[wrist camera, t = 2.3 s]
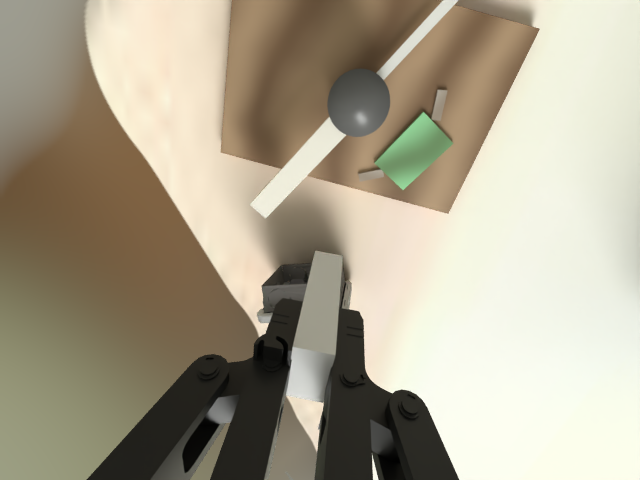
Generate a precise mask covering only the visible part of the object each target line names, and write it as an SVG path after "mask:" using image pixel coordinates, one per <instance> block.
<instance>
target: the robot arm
mask: <svg viewBox="0 0 640 480" xmlns="http://www.w3.org/2000/svg"><path fill="white" fill-rule="evenodd" d="M342 259H343V256H342V255H336V254H331V253H325V252H320V251H315V254H314V258H313V262H312V266H311V271H310V275H309V279H308V283H307V288H306V292H305V296H304V300H303V302H302V301H297V300H291V299H286V298H282V299H281V300H280V301H279V302H278V303H277V304H276V305H275V308H274V311H273V314H272V317H271V319H270V322H269V325H268V328H267V331H266V334H264V335H262V336H261V337H259V338H258V339H257V340H256V342H255V343H254V356H253V357H252V358H250V359H248V360H245V361H240V362H231V363H228V362H227V361H226V359H224V358H223V357H222V356H219V355H214V354H211V355H205V356H202V357H200V358H198V359H197V360H196V361H194V362H193V363H192V364H191V365H190V366H189V367H188V368H187V370H186V371H185V372H184V373H183V374H182V375H181V376H180V377H179V378H178V379H177V381H176V382H175V383H174V384H173V385H172V386H171V387H170V388H169V389H168V391H167V392H166V393H165V394H164V395H163V396H162V397H161V398H160V399H159V401H158V402H157V403H156V404H155V405H154V406H153V407H152V408H151V409H150V410H149V411H148V413H147V414H146V415H145V416H144V417H143V418H142V419H141V420H140V422H139V423H138V424H137V425H136V426H135V427H134V428H133V429H132V430H131V431H130V432H129V434H128V435H127V436H126V437H125V438H124V439H123V440H122V442H120V444H119V445H118V446H117V447H116V448H115V449H114V450H113V451H112V452H111V453H110V455H109V456H108V457H107V458H106V459H105V460H104V461H103V462H102V463H101V465H100V466H99V467H98V468H97V469H96V470H95V471H94V472H93V473H92V474H91V476H90V477H89V478H88V479H87V480H190V478H191V477H192V475H193V473H194V472H195V471H196V469H197V467H198V466H199V464H200V463H201V461H202V460H203V458H204V457H205V455H206V454H207V452H208V450H209V449H210V447H211V446H212V444H213V443H214V441H215V440H216V438H217V436H218V435H219V433H220V432H221V430H222V429H223V427H224V425H225V424H226V423H227V422H231V423H230V426H229V429H228V432H227V434H226V437H225V440H224V443H223V445H222V448H221V451H220V454H219V456H218V459H217V462H216V465H215V467H214V470H213V473H212V476H211V479H210V480H268V478H269V473H270V469H271V464H272V459H273V455H274V450H275V445H276V441H277V436H278V431H279V426H280V422H281V417H282V413H283V407H284V401H285V397H286V396H291V397H296V398H301V399H306V400H312V401H317V402H322V403H323V402H324V406H323V412H322V416H321V420H320V424H319V427H318V429H320V432H319V442H318V451H317V461H316V470H315V480H373V472H372V455H373V459H374V463H375V467H376V471H377V475H378V479H379V480H459V478H458V476H457V474H456V472H455V469H454V467H453V465H452V463H451V460H450V458H449V456H448V454H447V451H446V449H445V447H444V444H443V442H442V440H441V438H440V435H439V433H438V431H437V429H436V426H435V424H434V422H433V420H432V417H431V415H430V413H429V411H428V408H427V407H426V405H425V403H424V402H423V400H422V399H421V398H419V397H418V396H417V395H416V394H414V393H412V392H410V391H407V390H398V391H395V392H394V393H393V394H392V393H390V392H388V391H386V390H384V389H382V388H380V387H379V386H377V385H375V384H374V383H373V382H372V381H371V380H370V378H369V377H368V375H367V373H366V370H365V357H364V331H363V330H364V325H363V319H362V317H361V315H360V313H359V311H354V310H349V309H343V308H339V300H340V286H341V273H342Z"/></svg>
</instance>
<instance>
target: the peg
mask: <svg viewBox="0 0 640 480" xmlns="http://www.w3.org/2000/svg"><path fill="white" fill-rule="evenodd" d="M457 1H458V0H443V1H442V2H441V3H440V4H439V5H438V6H437V7H436V8H435V9H434V11H433V12H432V13H431V14H430V15H429V16H428V17H427V18H426V19H425V20H424V21H423V23H422V24H421V25H420V26H419V27H418V28H417V29H416V30H415V31H414V32H413V33H412V35H411V36H410V37H409V38H408V39H407V40H406V41H405V42H404V43H403V44H402V45H401V47H400V48H399V49H398V50H397V51H396V52H395V53H394V54H393V55H392V56H391V57H390V59H389V60H388V61H387V62H386V63H385V64H384V65H383V66H382V67H381V68H380V69H379V71H378V72H377V73H375V72H373V71H371V70H368V69H353V70H350V71H348V72H346V73H344V74H343V75H341V76H340V77H339V78H338V79H337V80H336V81H335V83H334V84H333V86H332V87H331V90H330V92H329V96H328V102H327V107H328V114H329V117H328V118H327V119H326V120H325V122H324V123H323V124H322V125H321V126H320V127H319V128H318V129H317V130H316V132H315V133H314V134H313V135H312V136H311V137H310V138H309V139H308V140H307V141H306V143H305V144H304V145H303V146H302V147H301V148H300V149H299V150H298V151H297V153H296V154H295V155H294V156H293V157H292V158H291V159H290V160H289V161H288V162H287V164H286V165H285V166H284V167H283V168H282V169H281V170H280V171H279V172H278V174H277V175H276V176H275V177H274V178H273V179H272V180H271V181H270V182H269V184H268V185H267V186H266V187H265V188H264V189H263V190H262V191H261V192H260V193H259V195H258V196H257V197H256V198H255V199H254V200H253V202H252V203H251V204H250V205H251V206H252V207H253V208H254V209H255V210H256V211H257V212H259V213H260V214H261V215H262V216H263V217H264V218H267V217H268V216H269V215H270V213H271V212H272V211H273V210H274V209H275V208H276V207H277V206H278V205H279V204H280V203H281V202H282V201H283V200H284V199H285V198H286V197H287V196H288V195H289V194H290V193H291V192H292V191H293V190H294V189H295V188H296V187H297V186H298V184H299V183H300V182H301V181H302V180H303V179H304V178H305V177H306V176H307V175H308V174H309V173H310V172H311V171H312V170H313V169H314V168H315V167H316V166H317V165H318V164H319V163H320V162H321V161H322V160H323V159H324V158H325V157H326V155H327V154H328V153H329V152H330V151H331V150H332V149H333V148H334V147H335V146H336V145H337V144H338V143H339V142H340V141H341V140H342V139H343V138H344V137H345V136H346V135H348V136H352V137H362V136H366V135H369V134H371V133H373V132H374V131H376V130H377V129H378V128H379V127H380V126H381V125H382V124H383V122H384V121H385V119H386V117H387V115H388V112H389V108H390V94H389V90H388V87H387V85H386V83H385V82H384V79H385V78H386V77H387V76H388V75H389V74H390V73H391V72H392V71H393V70H394V69H395V67H396V66H397V65H398V64H399V63H400V62H401V61H402V60H403V59H404V58H405V57H406V56H407V55H408V54H409V53H410V52H411V50H412V49H413V48H414V47H415V46H416V45H417V44H418V43H419V42H420V41H421V40H422V39H423V38H424V37H425V36H426V34H427V33H428V32H429V31H430V30H431V29H432V28H433V27H434V26H435V25H436V24H437V23H438V22H439V21H440V20H441V19H442V17H443V16H444V15H445V14H446V13H447V12H448V11H449V10H450V9H451V8H452V7H453V6H454V5H455V4H456V3H457Z"/></svg>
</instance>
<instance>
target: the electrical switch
mask: <svg viewBox="0 0 640 480" xmlns="http://www.w3.org/2000/svg"><path fill="white" fill-rule="evenodd" d="M282 266H283V269H282ZM311 266H312V263H308V264H293V265H281V266H280V267H279V268H278V269H277V270H276V271H275V272H274V274H273V275H272V276H271V277H270V278H269V279H268V280H267V281H266V282H265V283H264V284H263V285H262V292H263V305H264V308H263V309H260V310H259V312H258V313H257V316H258V320H259V322H260V323H269V322H270V319H271V317H272V314H273V311H274V308H275V305H276V304H277V303H278V302H279V301H280V300H281V299H282V298H286V299H291V300H297V301H302V302H303V300H304V296H305V292H306V288H307V283H308V280H307V279H309V275H310V271H311ZM302 268H303V269H302ZM305 272H306V274H307V276H306V279H305ZM288 281H289V282H288ZM351 291H352V283H351V282H350V281H345V277H344V271H343V262H342V273H341V286H340V300H339V308H343V309H349V306H350V298H351Z"/></svg>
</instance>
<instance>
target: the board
mask: <svg viewBox="0 0 640 480" xmlns="http://www.w3.org/2000/svg"><path fill="white" fill-rule="evenodd" d="M441 2H442V1H439V0H232V7H231V20H230V34H229V47H228V61H227V75H226V88H225V102H224V115H223V129H222V142H221V153H225V154H229V155H232V156H236V157H240V158H243V159H247V160H251V161H255V162H258V163H262V164H266V165H269V166H273V167H277V168H281V169H282V168H283V167H284V166H285V165H286V164H287V162H288V161H289V160H290V159H291V158H292V157H293V156H294V155H295V154H296V153H297V151H298V150H299V149H300V148H301V147H302V146H303V145H304V144H305V143H306V141H307V140H308V139H309V138H310V137H311V136H312V135H313V134H314V133H315V132H316V130H317V129H318V128H319V127H320V126H321V125H322V124H323V123H324V122H325V120H326V119H327V118H328V117H329V114H328V107H327V102H328V96H329V92H330V90H331V87H332V86H333V84H334V83H335V81H336V80H337V79H338V78H339V77H340V76H341V75H343V74H344V73H346V72H348V71H350V70H353V69H368V70H371V71H373V72H375V73H377V72H378V71H379V69H380V68H381V67H382V66H383V65H384V64H385V63H386V62H387V61H388V60H389V59H390V57H391V56H392V55H393V54H394V53H395V52H396V51H397V50H398V49H399V48H400V47H401V45H402V44H403V43H404V42H405V41H406V40H407V39H408V38H409V37H410V36H411V35H412V33H413V32H414V31H415V30H416V29H417V28H418V27H419V26H420V25H421V24H422V23H423V21H424V20H425V19H426V18H427V17H428V16H429V15H430V14H431V13H432V12H433V11H434V9H435V8H436V7H437V6H438V5H439V4H440V3H441ZM538 31H539V28H535V27H531V26H528V25H524V24H521V23H517V22H514V21H510V20H507V19H503V18H499V17H496V16H492V15H489V14H485V13H482V12H478V11H475V10H471V9H467V8H464V7H460V6H457V5H454V6H453V7H452V8H451V9H450V10H449V11H448V12H447V13H446V14H445V15H444V16H443V17H442V19H441V20H440V21H439V22H438V23H437V24H436V25H435V26H434V27H433V28H432V29H431V30H430V31H429V32H428V33H427V34H426V36H425V37H424V38H423V39H422V40H421V41H420V42H419V43H418V44H417V45H416V46H415V47H414V48H413V49H412V50H411V52H410V53H409V54H408V55H407V56H406V57H405V58H404V59H403V60H402V61H401V62H400V63H399V64H398V65H397V66H396V67H395V69H394V70H393V71H392V72H391V73H390V74H389V75H388V76H387V77H386V78H385V79H384V82H385V83H386V85H387V87H388V90H389V94H390V108H389V112H388V115H387V117H386V119H385V121H384V122H383V124H382V125H381V126H380V127H379V128H378V129H377V130H376V131H374V132H373V133H371V134H369V135H366V136H362V137H352V136H348V135H346V136H345V137H344V138H343V139H342V140H341V141H340V142H339V143H338V144H337V145H336V146H335V147H334V148H333V149H332V150H331V151H330V152H329V153H328V154H327V155H326V157H325V158H324V159H323V160H322V161H321V162H320V163H319V164H318V165H317V166H316V167H315V168H314V169H313V170H312V171H311V172H310V173H309V174H308V175H307V176H310V177H314V178H318V179H321V180H325V181H329V182H333V183H336V184H340V185H344V186H347V187H351V188H355V189H358V190H362V191H366V192H370V193H373V194H377V195H381V196H384V197H388V198H392V199H396V200H399V201H403V202H407V203H410V204H414V205H418V206H422V207H425V208H429V209H433V210H436V211H440V212H444V213H449V211H450V209H451V207H452V205H453V203H454V201H455V199H456V197H457V195H458V193H459V191H460V189H461V187H462V185H463V183H464V181H465V179H466V177H467V175H468V173H469V171H470V169H471V167H472V165H473V163H474V161H475V159H476V157H477V155H478V153H479V151H480V148H481V146H482V144H483V142H484V140H485V138H486V136H487V134H488V132H489V130H490V128H491V126H492V124H493V122H494V120H495V118H496V116H497V114H498V112H499V110H500V108H501V106H502V104H503V102H504V100H505V98H506V96H507V94H508V92H509V90H510V88H511V86H512V84H513V82H514V80H515V78H516V76H517V74H518V72H519V70H520V68H521V66H522V64H523V62H524V60H525V58H526V56H527V54H528V52H529V50H530V48H531V46H532V44H533V42H534V40H535V38H536V36H537V34H538Z"/></svg>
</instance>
